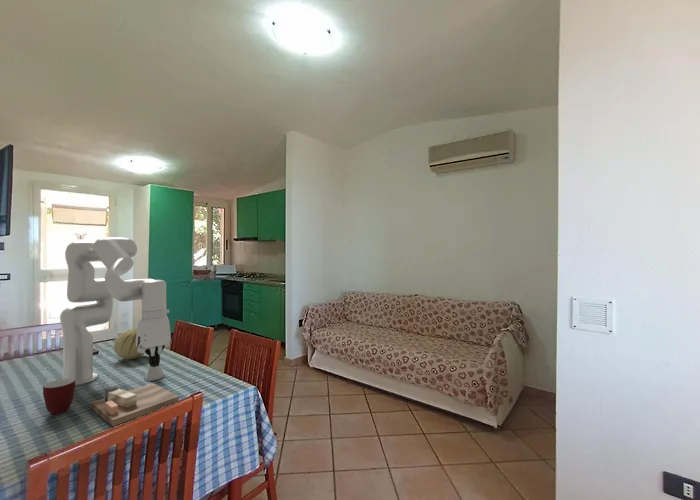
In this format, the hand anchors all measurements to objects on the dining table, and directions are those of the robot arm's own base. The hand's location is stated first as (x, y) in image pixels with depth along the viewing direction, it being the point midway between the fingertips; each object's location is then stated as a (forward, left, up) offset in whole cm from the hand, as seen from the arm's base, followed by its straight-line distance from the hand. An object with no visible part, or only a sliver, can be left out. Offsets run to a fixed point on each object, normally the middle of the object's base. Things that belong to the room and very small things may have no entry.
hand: (154, 365), depth 115 cm
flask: (-25, +10, -14) cm, 30 cm away
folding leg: (-6, -9, -11) cm, 15 cm away
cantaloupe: (-62, +15, -13) cm, 65 cm away
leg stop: (-1, -13, -11) cm, 17 cm away
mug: (-20, -22, -13) cm, 33 cm away
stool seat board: (-4, -5, -13) cm, 15 cm away
